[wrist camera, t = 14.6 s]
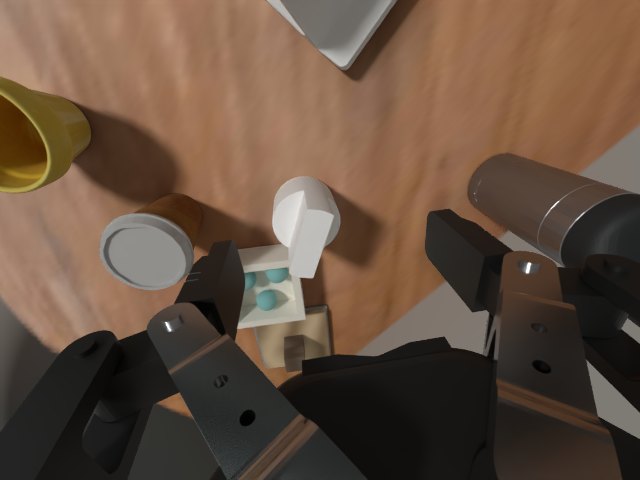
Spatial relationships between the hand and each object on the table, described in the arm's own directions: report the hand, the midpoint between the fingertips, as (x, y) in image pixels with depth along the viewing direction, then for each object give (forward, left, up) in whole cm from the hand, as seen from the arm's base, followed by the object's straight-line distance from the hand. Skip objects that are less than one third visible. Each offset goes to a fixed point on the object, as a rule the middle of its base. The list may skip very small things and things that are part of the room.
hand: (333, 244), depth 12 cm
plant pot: (+29, -4, -30) cm, 41 cm away
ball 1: (+11, +20, -27) cm, 35 cm away
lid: (+5, +37, -29) cm, 48 cm away
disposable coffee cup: (+19, +9, -30) cm, 36 cm away
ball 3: (+6, +20, -27) cm, 34 cm away
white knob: (+1, +10, -30) cm, 32 cm away
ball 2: (+9, +25, -27) cm, 38 cm away
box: (+9, +22, -30) cm, 38 cm away
